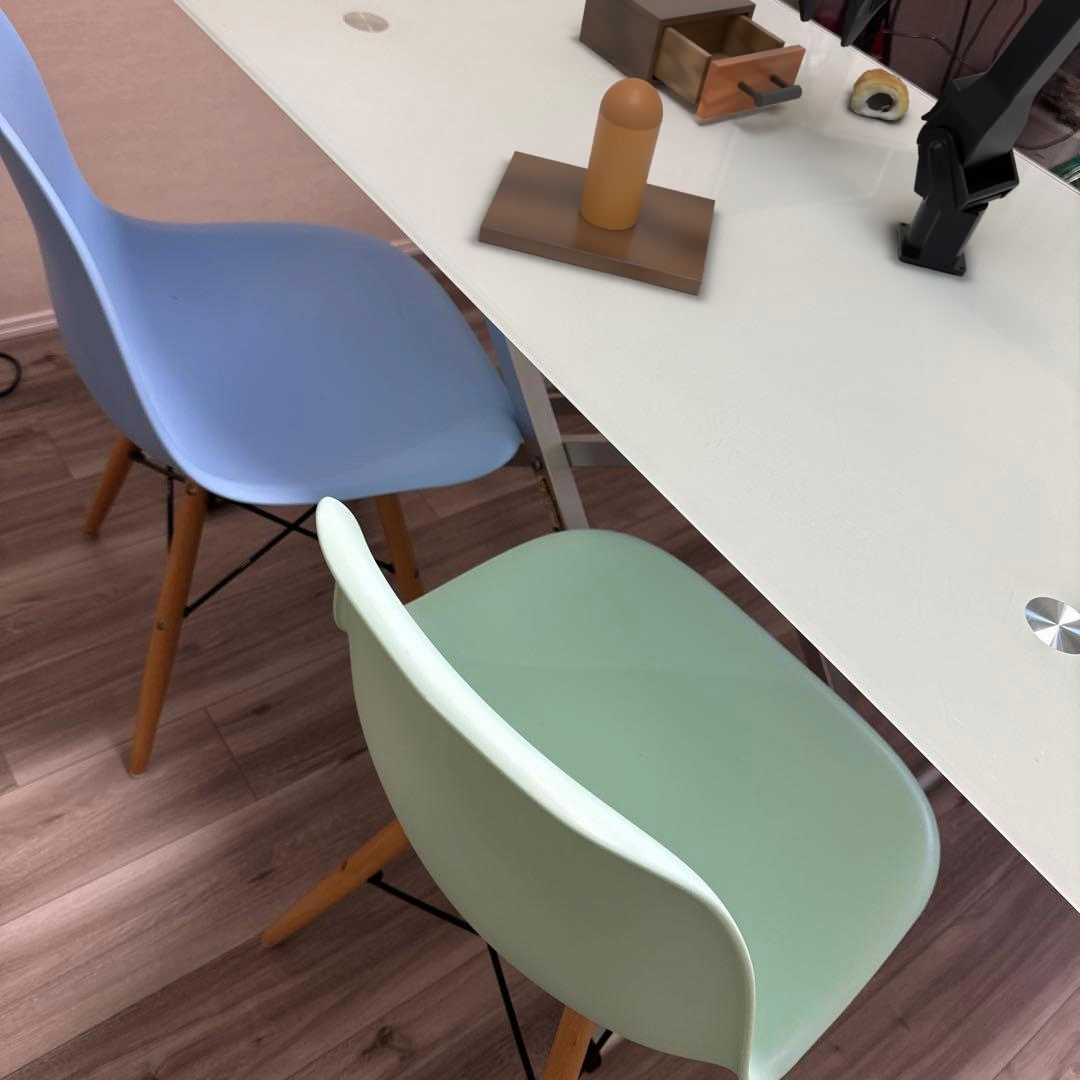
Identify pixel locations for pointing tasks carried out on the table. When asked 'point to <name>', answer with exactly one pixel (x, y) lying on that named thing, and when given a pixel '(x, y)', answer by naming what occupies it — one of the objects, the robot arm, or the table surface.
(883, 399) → the table surface
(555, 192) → the board
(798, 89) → the drawer
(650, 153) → the dome-topped orange cylinder
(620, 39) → the cabinet
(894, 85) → the pastry
